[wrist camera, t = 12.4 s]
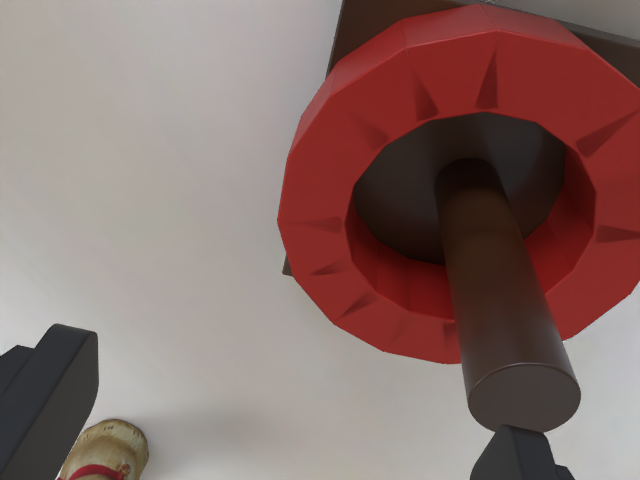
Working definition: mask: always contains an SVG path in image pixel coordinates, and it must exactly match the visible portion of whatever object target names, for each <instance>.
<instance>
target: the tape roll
mask: <svg viewBox="0 0 640 480" xmlns="http://www.w3.org/2000/svg"><path fill="white" fill-rule="evenodd" d="M480 112H488V113H493V114H498V115H503V116H507V117H512V118H517V119H521V120H526V121H531V122H536V123H537V124H539V125H540V126H542V127H543V128H544V129H546V130H547V131H548V132H550V133H551V134H552V135H554V136H555V137H557V138H558V139H559V140H561V141H562V142H563V143H564V145H565V178H564V185H563V187H562V189H561V191H560V193H559V195H558V197H557V199H556V201H555V203H554V205H553V207H552V209H551V211H550V213H549V215H548V217H547V219H546V220H545V221H544V222H543V223H542V224H541V225H540V226H539V227H538V228H536V229H535V230H534V231H533V232H532V233H531V234H530V235H529V236H528V237H527V238H526V239H524V243H525V245H526V248H527V250H528V253H529V256H530V258H531V261H532V264H533V266H534V269H535V272H536V274H537V277H538V279H539V282H540V285H541V287H542V290H543V293H544V295H545V298H546V300H547V303H548V306H549V308H550V311H551V314H552V316H553V319H554V321H555V324H556V327H557V329H558V332H559V335H560V337H561V340H562V341H563V340H566V339H569V338H571V337H573V336H574V335H576V334H578V333H579V332H580V331H582V330H583V329H584V328H586V327H587V326H588V325H590V324H591V323H592V322H594V321H595V320H596V319H598V318H599V317H600V316H602V315H603V314H604V313H606V312H607V311H608V310H610V309H611V308H612V307H614V306H615V305H617V304H618V303H619V302H621V301H622V300H623V299H625V298H626V297H627V296H628V295H630V294H631V293H632V291H633V290H634V288H635V287H636V285H637V284H638V282H639V281H640V89H639V88H638V87H637V86H636V85H635V84H634V83H632V82H631V81H630V80H629V79H628V78H627V77H625V76H624V75H623V74H622V73H621V72H619V71H618V70H617V69H616V68H615V67H614V66H612V65H611V64H610V63H609V62H608V61H606V60H605V59H604V58H603V57H601V56H600V55H599V54H598V53H596V52H595V51H594V50H593V49H591V48H590V47H589V46H588V45H586V44H585V43H584V42H583V41H581V40H580V39H579V38H578V37H576V36H575V35H574V34H573V33H571V32H570V31H569V30H568V29H566V28H565V27H564V26H563V25H561V24H560V23H559V22H558V21H556V20H553V19H550V18H546V17H541V16H536V15H532V14H527V13H522V12H518V11H513V10H508V9H504V8H499V7H495V6H490V5H485V4H480V5H479V4H473V5H468V6H463V7H458V8H453V9H448V10H443V11H438V12H433V13H428V14H423V15H418V16H413V17H408V18H404V19H402V20H399V21H397V22H396V23H394V24H393V25H391V26H390V27H388V28H387V29H385V30H384V31H382V32H381V33H379V34H378V35H376V36H375V37H373V38H372V39H370V40H369V41H367V42H366V43H364V44H363V45H361V46H360V47H358V48H357V49H355V50H354V51H352V52H351V53H349V54H348V55H346V56H345V57H343V58H342V59H340V61H338V62H337V63H336V65H335V66H334V68H333V69H332V71H331V72H330V74H329V75H328V77H327V78H326V80H325V81H324V83H323V84H322V86H321V87H320V89H319V90H318V92H317V93H316V95H315V96H314V98H313V99H312V101H311V102H310V104H309V105H308V107H307V108H306V110H305V111H304V113H303V114H302V116H301V119H300V122H299V125H298V128H297V131H296V133H295V136H294V139H293V142H292V145H291V148H290V151H289V154H288V157H287V162H286V168H285V174H284V181H283V187H282V193H281V199H280V205H279V211H278V218H277V221H278V223H277V224H278V227H279V230H280V234H281V237H282V240H283V244H284V247H285V250H286V254H287V257H288V260H289V264H290V267H291V270H292V274H293V277H294V279H295V280H296V282H297V283H298V284H299V285H300V286H301V287H302V289H303V290H304V291H305V292H306V293H307V294H308V296H309V297H310V298H311V299H312V300H313V301H314V303H315V304H316V305H317V306H318V307H319V308H320V310H321V311H322V312H323V313H324V314H325V315H326V317H327V318H328V319H329V320H330V321H331V322H332V323H333V324H334V325H336V326H337V327H339V328H341V329H343V330H345V331H346V332H348V333H350V334H352V335H354V336H356V337H357V338H359V339H361V340H363V341H365V342H366V343H368V344H370V345H372V346H374V347H375V348H377V349H379V350H381V351H383V352H387V353H392V354H397V355H402V356H407V357H412V358H417V359H422V360H427V361H431V362H436V363H441V364H445V363H446V364H458V363H461V358H460V352H459V345H458V339H457V333H456V326H455V320H454V314H453V307H452V301H451V295H450V289H449V282H448V276H447V270H446V265H444V266H442V265H437V264H433V263H428V262H423V261H418V260H413V259H408V258H406V257H405V256H403V255H402V254H400V253H398V252H397V251H395V250H393V249H392V248H390V247H388V246H387V245H385V244H383V243H382V242H380V241H379V240H377V239H376V238H375V236H374V235H373V234H372V232H371V231H370V230H369V228H368V227H367V226H366V224H365V223H364V221H363V220H362V219H361V217H360V216H359V215H358V213H357V210H356V205H355V200H354V195H353V190H354V186H355V183H356V182H357V181H358V180H359V178H360V177H361V176H362V175H363V173H364V172H365V171H366V170H367V168H368V167H369V166H370V165H371V163H372V162H373V161H374V159H375V158H376V157H377V156H378V154H379V153H380V152H381V151H382V149H383V148H384V147H385V146H387V145H388V144H390V143H392V142H394V141H395V140H397V139H399V138H400V137H402V136H404V135H406V134H407V133H409V132H411V131H413V130H414V129H416V128H418V127H420V126H421V125H423V124H425V123H427V122H428V121H431V120H437V119H444V118H450V117H456V116H462V115H468V114H474V113H480Z"/></svg>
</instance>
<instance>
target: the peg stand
mask: <svg viewBox="0 0 640 480" xmlns="http://www.w3.org/2000/svg"><path fill="white" fill-rule="evenodd" d="M473 4H479V5H480V4H485V5H490V6H495V7H499V8H504V9H508V10H513V11H518V12H522V13H527V14H532V13H528V12H524V11H520V10H516V9H512V8H508V7H504V6H500V5H496V4H492V3H488V2H485V1H481V0H343V1H342V6H341V10H340V15H339V19H338V24H337V28H336V33H335V37H334V42H333V46H332V51H331V55H330V60H329V64H328V69H327V73H326V78H327V77H328V75H329V74H330V72H331V71H332V69H333V68H334V66H335V65H336V63H337V62H338V61H340V59H342V58H343V57H345V56H346V55H348V54H349V53H351V52H352V51H354V50H355V49H357V48H358V47H360V46H361V45H363V44H364V43H366V42H367V41H369V40H370V39H372V38H373V37H375V36H376V35H378V34H379V33H381V32H382V31H384V30H385V29H387V28H388V27H390V26H391V25H393V24H394V23H396V22H397V21H399V20H402V19H404V18H408V17H413V16H418V15H423V14H428V13H433V12H438V11H443V10H448V9H453V8H458V7H463V6H468V5H473ZM532 15H536V14H532ZM536 16H540V15H536ZM541 17H544V16H541ZM546 18H548V17H546ZM550 19H551V18H550ZM553 20H555V19H553ZM556 21H558V22H559V23H560V24H561V25H563V26H564V27H565V28H566V29H568V30H569V31H570V32H571V33H573V34H574V35H575V36H576V37H578V38H579V39H580V40H581V41H583V42H584V43H585V44H586V45H588V46H589V47H590V48H591V49H593V50H594V51H595V52H596V53H598V54H599V55H600V56H601V57H603V58H604V59H605V60H606V61H608V62H609V63H610V64H611V65H612V66H614V67H615V68H616V69H617V70H618V71H619V72H621V73H622V74H623V75H624V76H625V77H627V78H628V79H629V80H630V81H631V82H632V83H634V84H635V85H636V86H637V87H638V88H639V89H640V41H638V40H634V39H630V38H626V37H622V36H618V35H614V34H611V33H607V32H603V31H599V30H595V29H591V28H587V27H583V26H579V25H575V24H571V23H567V22H563V21H559V20H556ZM326 78H325V80H326ZM564 178H565V145H564V143H563V142H562V141H561V140H559V139H558V138H557V137H555V136H554V135H552V134H551V133H550V132H548V131H547V130H546V129H544V128H543V127H542V126H540V125H539V124H537V123H536V122H531V121H526V120H521V119H517V118H512V117H507V116H503V115H498V114H493V113H488V112H480V113H474V114H468V115H462V116H456V117H450V118H444V119H437V120H431V121H428V122H427V123H425V124H423V125H421V126H420V127H418V128H416V129H414V130H413V131H411V132H409V133H407V134H406V135H404V136H402V137H400V138H399V139H397V140H395V141H394V142H392V143H390V144H388V145H387V146H385V147H384V148H383V149H382V151H381V152H380V153H379V154H378V156H377V157H376V158H375V159H374V161H373V162H372V163H371V165H370V166H369V167H368V168H367V170H366V171H365V172H364V173H363V175H362V176H361V177H360V178H359V180H358V181H357V182H356V183H355V186H354V190H353V195H354V200H355V205H356V210H357V213H358V215H359V216H360V217H361V219H362V220H363V221H364V223H365V224H366V226H367V227H368V228H369V230H370V231H371V232H372V234H373V235H374V236H375V238H376V239H377V240H379V241H380V242H382V243H383V244H385V245H387V246H388V247H390V248H392V249H393V250H395V251H397V252H398V253H400V254H402V255H403V256H405V257H406V258H408V259H413V260H418V261H423V262H428V263H433V264H437V265H442V266H444V265H446V270H447V276H448V282H449V289H450V295H451V301H452V307H453V314H454V320H455V326H456V333H457V339H458V345H459V352H460V358H461V364H462V370H463V377H464V383H465V389H466V396H467V402H468V408H469V411H470V413H471V414H472V416H473V417H474V419H475V420H476V421H477V422H478V423H479V424H481V425H482V426H484V427H485V428H487V429H489V430H491V431H494V432H496V431H497V430H498V428H499V427H500V426H501V425H503V424H506V425H511V426H515V427H520V428H524V429H529V430H534V431H538V432H541V433H544V432H547V431H550V430H552V429H555V428H557V427H559V426H560V425H562V424H564V423H565V422H566V421H568V420H569V419H570V418H571V417H572V416H573V415H574V414H575V412H576V411H577V409H578V407H579V404H580V400H581V391H580V387H579V384H578V382H577V379H576V377H575V374H574V371H573V369H572V366H571V363H570V361H569V358H568V356H567V353H566V350H565V348H564V345H563V342H562V340H561V337H560V335H559V332H558V329H557V327H556V324H555V321H554V319H553V316H552V314H551V311H550V308H549V306H548V303H547V300H546V298H545V295H544V293H543V290H542V287H541V285H540V282H539V279H538V277H537V274H536V272H535V269H534V266H533V264H532V261H531V258H530V256H529V253H528V250H527V248H526V245H525V243H524V239H526V238H527V237H528V236H529V235H530V234H531V233H532V232H533V231H534V230H535V229H536V228H538V227H539V226H540V225H541V224H542V223H543V222H544V221H545V220H546V219H547V217H548V215H549V213H550V211H551V209H552V207H553V205H554V203H555V201H556V199H557V197H558V195H559V193H560V191H561V189H562V187H563V185H564ZM282 273H283V274H284V275H288V276H293V274H292V270H291V267H290V264H289V260H288V257H287V254H286V257H285V262H284V266H283V271H282Z"/></svg>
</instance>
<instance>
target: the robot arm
mask: <svg viewBox="0 0 640 480" xmlns="http://www.w3.org/2000/svg"><path fill="white" fill-rule="evenodd" d="M98 386H99V371H98V336H97V333H96V332H93V331H89V330H84V329H80V328H75V327H71V326H66V325H62V324H54V325H52V326H51V327H50V328H49V329H48V330H47V332H46V333H45V334H44V336H43V337H42V339H41V340H40V341H39V343H38V344H37V345H36V347H35V348H29V347H25V346H20V345H17V346H15V347H14V348H12V349H10V350H9V351H7V352H6V353H4V354H3V355H1V356H0V480H55V479H56V477H57V475H58V473H59V471H60V469H61V467H62V466H63V464H64V462H65V460H66V458H67V456H68V454H69V452H70V451H71V449H72V447H73V445H74V443H75V441H76V439H77V438H78V436H79V434H80V432H81V430H82V428H83V426H84V424H85V423H86V421H87V419H88V417H89V415H90V413H91V411H92V408H93V406H94V403H95V400H96V396H97V392H98ZM470 480H575V479H574V477H573V476H572V474H571V473H570V471H569V470H568V468H567V467H565V466H560V465H556V464H555V462H554V459H553V456H552V452H551V449H550V445H549V442H548V440H547V438H546V436H545V435H544V434H543V433H541V432H538V431H534V430H529V429H524V428H520V427H515V426H511V425H506V424H503V425H501V426H500V427H499V428H498V430H497V431H496V433H495V434H494V436H493V437H492V439H491V440H490V442H489V443H488V445H487V447H486V448H485V450H484V451H483V453H482V454H481V456H480V457H479V459H478V460H477V462H476V463H475V465H474V467H473V469H472V472H471V475H470Z"/></svg>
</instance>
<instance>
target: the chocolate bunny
mask: <svg viewBox="0 0 640 480" xmlns="http://www.w3.org/2000/svg"><path fill="white" fill-rule="evenodd" d="M148 456H149V453H148V449H147V441H146V439H145V437H144V435H143V433H142V432H141V431H140V430H139V429H138V428H137V427H135V426H133V425H131V424H129V423H127V422H124V421H121V420H117V419H114V420H104V421H102V422H100V423H98V424H97V425H96V426H93V427H89V428H87V429H86V430H85V431H84V432H83V433H82V434H81V435H80V437H79V438H78V440H77V442H76V444H75V446H74V447H73V449H72V451H71V452H70V454H69V456H68V457H67V459H66V461H65V463H64V465H63V467H62V470H61V473H60V477H59V478H58V479H57V480H139V478H140V475H141V473H142V471H143V469H144V467H145V466H146V463H147V461H148Z"/></svg>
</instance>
